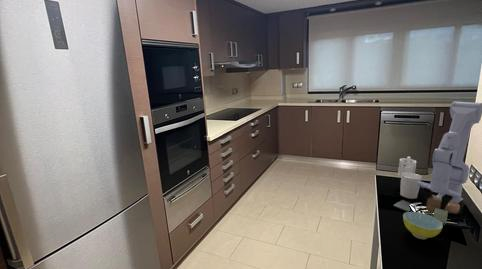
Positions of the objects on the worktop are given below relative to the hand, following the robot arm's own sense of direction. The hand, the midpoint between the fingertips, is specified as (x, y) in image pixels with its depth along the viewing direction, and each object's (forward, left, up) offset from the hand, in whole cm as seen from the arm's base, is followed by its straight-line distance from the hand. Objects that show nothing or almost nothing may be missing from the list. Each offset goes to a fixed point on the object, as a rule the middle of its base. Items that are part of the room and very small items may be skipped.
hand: (434, 208), depth 107 cm
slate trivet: (+5, -8, -1) cm, 10 cm away
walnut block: (0, 0, -1) cm, 1 cm away
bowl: (+23, +4, -2) cm, 23 cm away
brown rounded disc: (-7, +3, -2) cm, 8 cm away
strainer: (-16, -19, -2) cm, 25 cm away
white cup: (-7, -13, -2) cm, 15 cm away
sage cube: (+6, +4, -2) cm, 7 cm away
